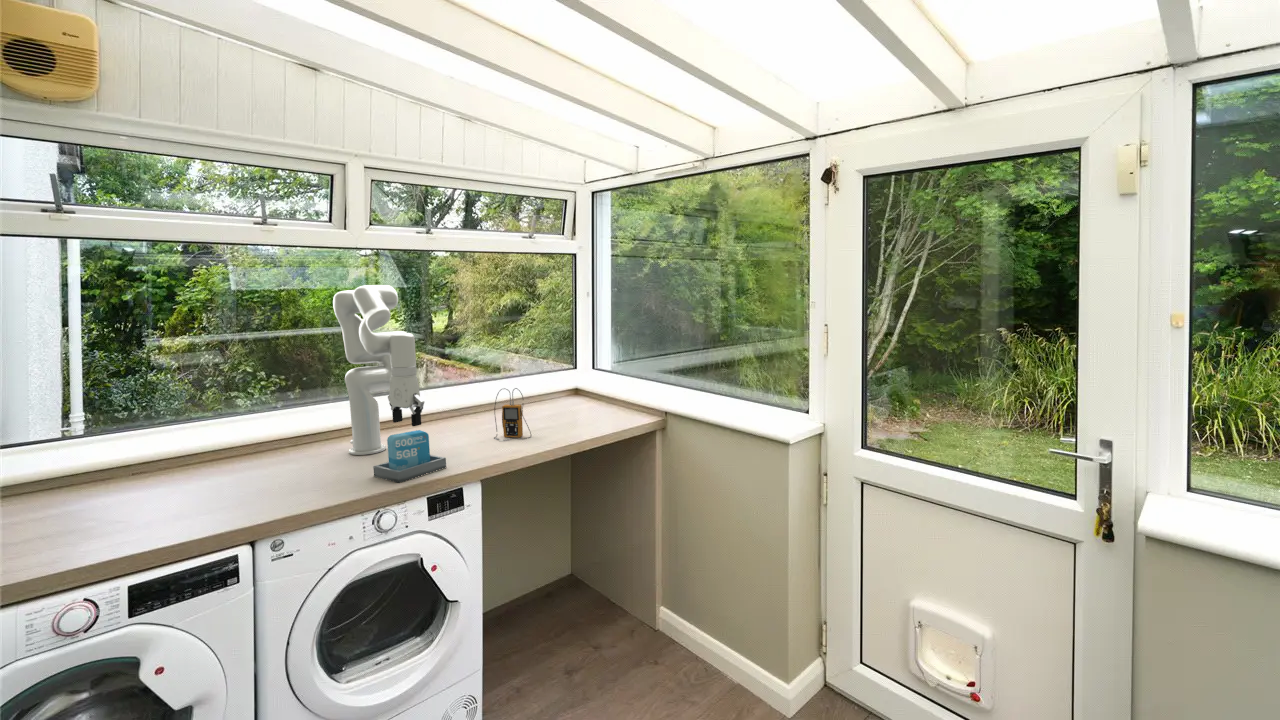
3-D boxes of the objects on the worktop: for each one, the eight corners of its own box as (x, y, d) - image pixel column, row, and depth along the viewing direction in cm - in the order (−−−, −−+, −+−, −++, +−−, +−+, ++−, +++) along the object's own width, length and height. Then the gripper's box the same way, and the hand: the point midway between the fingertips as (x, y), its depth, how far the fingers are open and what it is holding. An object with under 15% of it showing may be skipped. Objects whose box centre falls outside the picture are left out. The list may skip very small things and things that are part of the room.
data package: (394, 474, 189) (392, 437, 188) (389, 471, 192) (386, 435, 191) (430, 466, 197) (428, 431, 196) (425, 463, 200) (422, 429, 199)
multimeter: (487, 442, 233) (484, 391, 230) (497, 435, 242) (495, 387, 240) (523, 442, 230) (521, 392, 228) (532, 436, 240) (530, 387, 238)
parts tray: (374, 476, 191) (373, 466, 190) (421, 462, 206) (420, 452, 205) (399, 483, 184) (398, 472, 183) (446, 467, 199) (445, 457, 198)
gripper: (377, 371, 192) (380, 422, 195) (411, 375, 183) (414, 429, 185) (397, 368, 199) (400, 418, 201) (431, 372, 189) (434, 424, 192)
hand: (407, 423), depth 193 cm, fingers open, 9 cm apart
